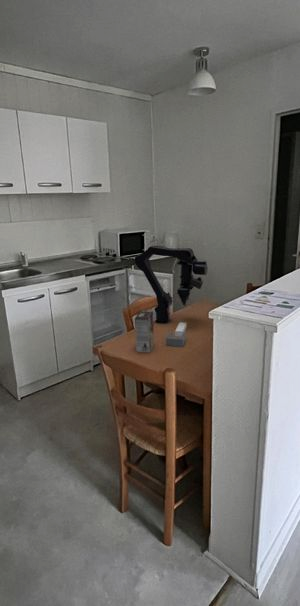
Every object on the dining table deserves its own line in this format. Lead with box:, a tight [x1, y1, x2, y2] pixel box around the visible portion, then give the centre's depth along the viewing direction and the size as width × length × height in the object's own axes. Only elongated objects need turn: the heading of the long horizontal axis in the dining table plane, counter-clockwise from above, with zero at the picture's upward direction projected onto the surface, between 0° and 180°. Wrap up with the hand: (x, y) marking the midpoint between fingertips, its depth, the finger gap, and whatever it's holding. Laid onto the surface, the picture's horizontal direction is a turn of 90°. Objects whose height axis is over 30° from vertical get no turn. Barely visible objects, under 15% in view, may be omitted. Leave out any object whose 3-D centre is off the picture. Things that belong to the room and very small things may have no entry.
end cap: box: [165, 330, 187, 348], centre depth 166 cm, size 8×8×4 cm
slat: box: [174, 321, 187, 338], centre depth 179 cm, size 4×12×3 cm, turn 164°
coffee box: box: [134, 311, 155, 353], centre depth 159 cm, size 9×6×16 cm
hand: (185, 302), depth 186 cm, fingers open, 9 cm apart
